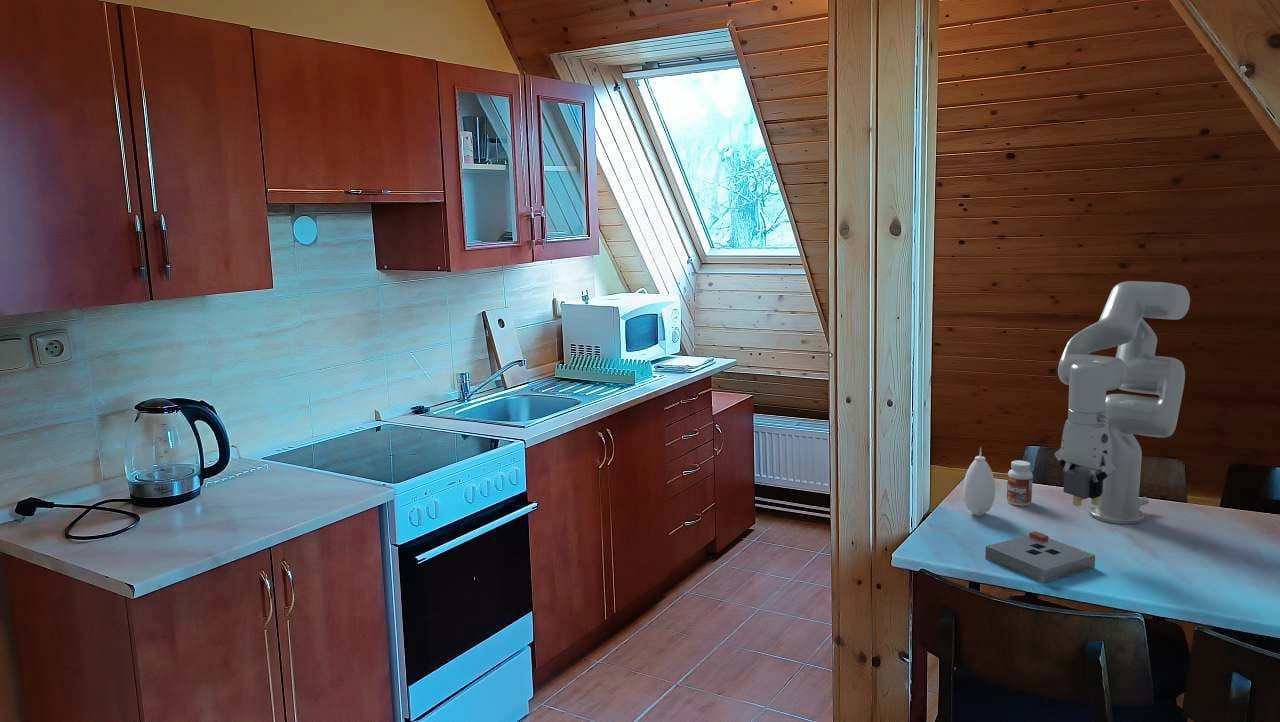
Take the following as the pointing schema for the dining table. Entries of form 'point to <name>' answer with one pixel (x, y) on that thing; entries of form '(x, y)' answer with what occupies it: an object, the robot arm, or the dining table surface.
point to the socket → (1040, 557)
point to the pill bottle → (1019, 484)
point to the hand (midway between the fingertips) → (1083, 492)
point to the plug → (1079, 485)
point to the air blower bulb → (979, 486)
